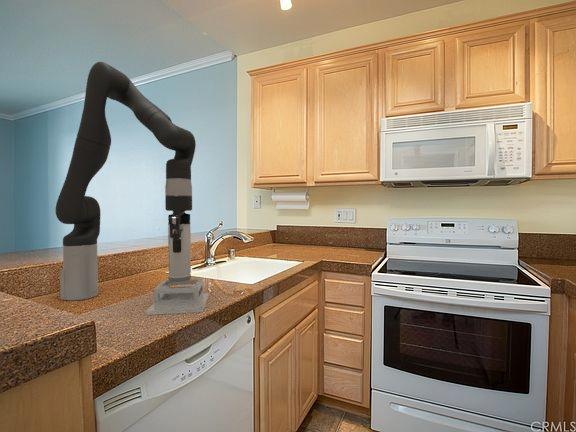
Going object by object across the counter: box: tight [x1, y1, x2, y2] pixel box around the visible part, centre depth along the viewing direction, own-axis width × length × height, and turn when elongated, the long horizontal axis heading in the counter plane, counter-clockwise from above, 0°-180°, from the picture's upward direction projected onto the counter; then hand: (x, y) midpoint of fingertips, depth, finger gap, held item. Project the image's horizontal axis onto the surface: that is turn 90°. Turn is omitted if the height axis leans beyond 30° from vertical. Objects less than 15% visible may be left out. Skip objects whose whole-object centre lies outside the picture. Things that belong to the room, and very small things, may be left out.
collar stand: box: [145, 277, 210, 316], centre depth 88 cm, size 15×15×6 cm
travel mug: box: [167, 212, 192, 282], centre depth 88 cm, size 6×7×20 cm
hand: (179, 250), depth 88 cm, fingers closed on travel mug, 6 cm apart
